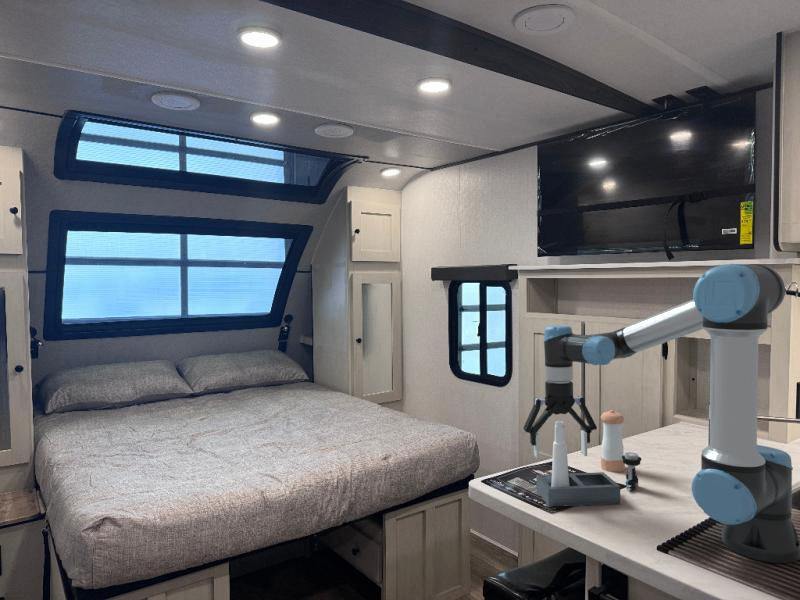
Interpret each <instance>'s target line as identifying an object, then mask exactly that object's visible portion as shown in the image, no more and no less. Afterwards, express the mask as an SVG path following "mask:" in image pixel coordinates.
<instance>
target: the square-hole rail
mask: <svg viewBox="0 0 800 600" xmlns="http://www.w3.org/2000/svg"><path fill="white" fill-rule="evenodd" d="M568 475H569V485H570V486H568V487H551V482H552V473H550V474H536V477H535V478H536V493H537V492H538V493H539V494H538V493H537V494H538V496H541V497H542V498H541V497H540V498H541V499H542V500H544V501H545V502H546V503H545V502H544V501H543V502H544V503H545V505H546V504H547V505H548V506H547V505H546V506H547V507H548V508H554V507H553V506H562V505H570V506H572V507H592V506H593V507H594V506H614V505H615V506H616V505H621V485H619V484H618V483H617V482H616V481H615V480H613V479H612V478H611V477H610V476H609V475H608V474H606V473H605V472H604V471H603V472H601V471H600V472H598V471H597V472H577V473H576V472H575V473H574V472H573V473H568Z"/></svg>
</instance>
